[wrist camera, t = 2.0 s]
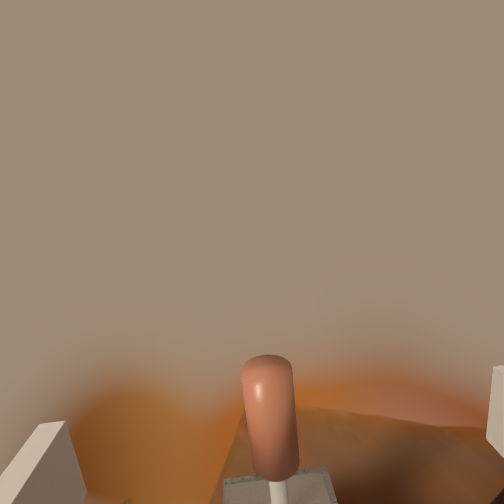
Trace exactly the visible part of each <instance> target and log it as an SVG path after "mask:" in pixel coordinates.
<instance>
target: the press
mask: <svg viewBox="0 0 504 504" xmlns="http://www.w3.org/2000/svg"><path fill="white" fill-rule="evenodd" d="M287 487H288V497H289V504H338V502H337V499H336V496H335V493H334V489H333V486H332V483H331V480H330V476H329V473H328V470H327V467H326V466H319V467H312V468H304V469H297V471H296V472H295V474H294V475H293V476H292V477H290V478H289V479H287ZM223 504H271V495H270V486H269V481H266V480H264V479H262V478H261V477H259V476H258V475H252V476H245V477H237V478H230V479H224V489H223Z"/></svg>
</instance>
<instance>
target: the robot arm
mask: <svg viewBox="0 0 504 504" xmlns="http://www.w3.org/2000/svg"><path fill="white" fill-rule="evenodd" d="M486 439H487V440H488V441H489V443H490V444H491V445H492V446H493V447H494V448H495V449H496V450H497V451H498V452H499V453H500V454H501V456H502V457H503V458H504V365H502V366H494V367H493V377H492V386H491V395H490V406H489V415H488V424H487V434H486ZM86 493H87V490H86V487H85V484H84V480H83V478H82V474H81V471H80V467H79V464H78V461H77V457H76V454H75V451H74V448H73V444H72V441H71V438H70V435H69V432H68V428H67V425H66V421H61V422H52V423H46V424H45V423H44V424H39V425H38V427H37V428H36V429H35V431H34V432H33V434H32V435H31V436H30V437H29V439H28V440H27V441H26V443H25V444H24V445H23V447H22V448H21V450H20V451H19V452H18V454H17V455H16V456H15V458H14V459H13V460H12V462H11V463H10V465H9V466H8V467H7V468H6V470H5V471H4V472H3V474H2V475H1V476H0V504H82V502H83V500H84V498H85V495H86ZM491 504H504V489H503V490H502V491H501V492H500V493H499V494H498V496H497V497H496V498H495V499H494V500H493V501H492V502H491Z"/></svg>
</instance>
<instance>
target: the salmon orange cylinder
mask: <svg viewBox="0 0 504 504" xmlns="http://www.w3.org/2000/svg"><path fill="white" fill-rule="evenodd" d="M241 378H242V386H243V394H244V402H245V410H246V417H247V425H248V433H249V441H250V448H251V456H252V464H253V468H254V470H255V472H256V473H257V475H258V476H259V477H261V478H262V479H264V480H266V481H269V486H270V495H271V504H289V497H288V487H287V479H289V478H290V477H292V476H293V475H294V474H295V472H296V471H297V469H298V467H299V448H298V436H297V424H296V411H295V400H294V387H293V376H292V366H291V364H290V362H289V361H288V360H286V359H285V358H283V357H280V356H277V355H261V356H257V357H254V358H252V359H250V360H249V361H247V362H246V363H245V364H244V365H243V367H242V369H241Z"/></svg>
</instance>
